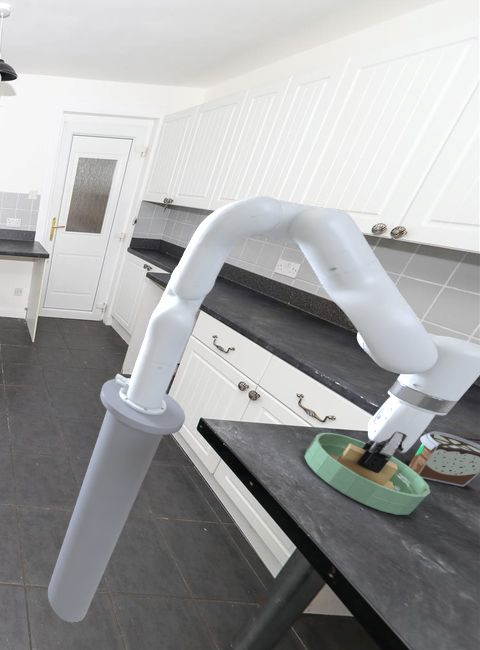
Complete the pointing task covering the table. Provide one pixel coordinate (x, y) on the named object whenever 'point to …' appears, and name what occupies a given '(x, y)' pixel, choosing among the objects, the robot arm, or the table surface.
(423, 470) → the food container
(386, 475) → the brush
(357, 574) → the table surface
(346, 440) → the bowl
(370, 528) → the table surface
